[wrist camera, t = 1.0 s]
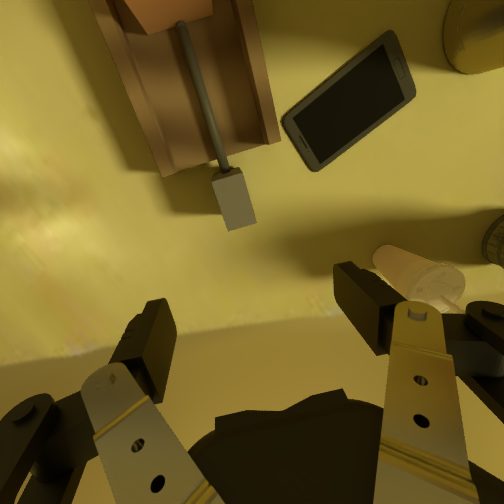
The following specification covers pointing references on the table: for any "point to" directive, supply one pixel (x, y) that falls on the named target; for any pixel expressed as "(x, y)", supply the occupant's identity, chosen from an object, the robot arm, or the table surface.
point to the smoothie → (421, 278)
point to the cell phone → (351, 103)
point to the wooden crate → (181, 86)
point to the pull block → (200, 99)
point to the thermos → (494, 243)
